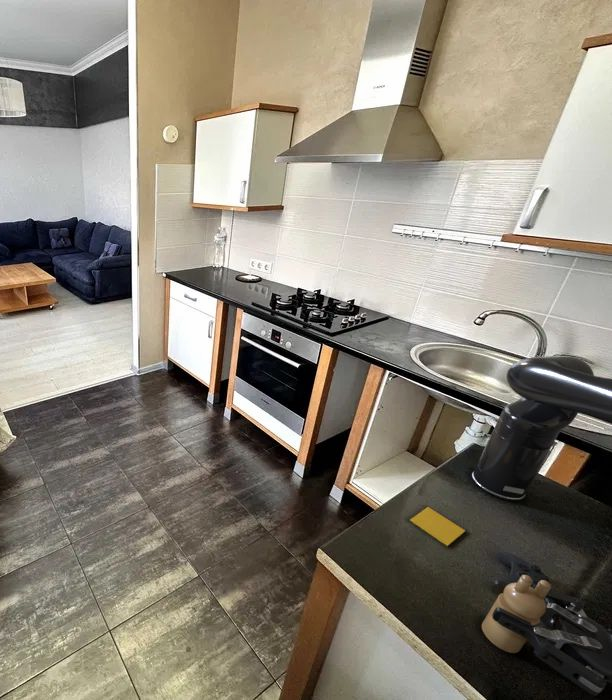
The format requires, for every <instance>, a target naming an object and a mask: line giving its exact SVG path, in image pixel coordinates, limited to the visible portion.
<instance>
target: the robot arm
mask: <svg viewBox="0 0 612 700" xmlns="http://www.w3.org/2000/svg"><path fill="white" fill-rule="evenodd" d="M506 381H507V384H508V386H509V387H510V388H511V390H512V391H513V392H514V393H515V394H517V395H518V396H520V398H519V399H517V400H515V401H512V402H511V403H509V404H507V405H505V406H504V407H503V409H502V411H501V413H500V415H499V417H498V419H497V421H496V423H495V426H494V428H493V430H492V432H491V434H490V437H489V439H488V440H487V442H486V443H485V445H484V448H483V450H482V452H481V455H480V457H479V459H478V461H477V464H476V465H475V467H474V469H473V470H474V471H473V472H472V473H471V476H470V478H471V480H472V482H473V483H474V484H475V485H476V486H477V487H478V488H479V489H480V490H482V491H483V492H485V493H486V494H489V495H491V496H493V497H495V498H498V499H500V500H504V501H508V502H509V501H510V502H520V501H522V500H524V498H525V497H526V495H527V492H528V490H529V489H530V487H531V485H532V483H533V482H534V479H535V477H536V476H537V474H538V472H539V470H540V469H541V468H542V465H543V463H544V461H545V460H546V458H547V456H548V454H549V453H550V451H551V449H552V447H553V444H554V443H555V442H556V440H557V438H558V436H559V435H560V433H561V431H563V430H564V429H565V428H567V427H568V426H569V425H571V424H572V423H573V422H574V420H575V419H576V417H577V416H578V414H581V415H584V416H587V417H590V418H593V419H596V420H598V421H602V422H604V423H607V424H609V425H612V378H610V377H609V378H608V377H601V376H597V375H595V373H594V371H593V369H592V366H590V365H589V363H587V362H586V361H584V360H582V359H580V358H578V357H575V356H569V355H545V356H533V357H532V356H531V357H527V358H524V359H521V360H518V361H516V362H515V363H513V364H512V365H511V366H510V367H509V369H507V371H506ZM507 585H509V584H507V583H505V582H502V581H494V583H493V584H492V585H491V586H490V591H491V593H492V594H494V595H496V596H497V597H498V596H499V595H500V594H502V593H503V592H504V589H505V587H506V586H507ZM535 587H536V586H533V587H532V588H533V589H535ZM545 597H547V598H544V602H545V605H546V611H545V613H544V615H543V616H541V617H540V622H542V623H543V624H544V625H546V626H548V627H549V628H550V629H547V628H544V627H541V626H538V625H537V626H534V627H532V624H531V622H529V621H527V620H525V619H523V618H521V617H519V616H517V615H514V614H512V613H510V612H508V611H506V610H504V609H502V608H500V607H497V608H496V609H495V610H494V612H493V619H494V620H495V621H497V622H498V623H499V624H500V625H502V626H503V627H505V628H507V629H509V630H511V631H513V632H515V633H517V634H519V635H521V636H523V637H525V638H526V639H527V641H526V642H528V643H529V644H531V645H532V647H533V649H534V651H533V654H534V655H535V657H536V658H537V659H539V660H540V661H542V662H543V663H545V664H546V665H548V666H550V667H551V668H552V669H553V670H555V671H556V672H558V673H559V674H561V675H562V676H563V677H565V678H566V679H568V680H570V681H571V682H572V683H574V684H575V685H576V686H578V687H579V688H580V689H582V690H584V691H585V692H586V693H588V694H589V695H591V696H595V697H596V696H598V695H599V693H601V692H602V691H603V690H604V689H605V687H606V686H607V685H608V686H609V687H611V688H612V629H610V628H606V627H605V626H602V625H601V624H599V623H598V622H597V621H595V620H594V619H592V618H590V617H588V616H587V614H586V613H585V611H584V609H583V608H584V607H585V605H586V604H585V602H584V601H583V600H582V599H579V598H578V597H574V596H571V595H569V594H565V593H561V592H559V591H554V590H551V589H550V590H549V592H548V593H547V595H546V596H545ZM555 615H556V616H557V615H558V617H556V620H554V616H555ZM551 629H552V630H551ZM558 660H559V661H558ZM560 661H561V662H560Z"/></svg>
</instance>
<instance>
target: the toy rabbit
mask: <svg viewBox="0 0 612 700" xmlns="http://www.w3.org/2000/svg"><path fill="white" fill-rule="evenodd" d="M532 583H533V580H532V578H531V577H530V576H528V575H522V576H521V577H520V579H519V581H518V582H517V583H511V584H509V585H507V586H506V587H505V589H504V592H503V593H502V594H500V595H499V596H498V595H497V598H496V599H495V602H494V603H493V605H492V607H491V608H490V610H489V611H488V613H487V615H486V616H485V618H484V620H483V621H482V624H481V630H482V632H483V634H484V636H485V637H486V638H487V639H488V640H489V641H490V643H492V644H493V645H494V646H495V647H497V648H498V649H500V650H502V651H504V652H507V653H509V654H516V653H519V652H520V651H521V649H522V648H523V647H524V645H525V644H526V642H528V641H527V639H526V638H525V637H523V636H521V635H519V634H517V633H515V632H513V631H511V630H509V629H507V628H505V627H503V626H502V625H500V624H499V623H498V622H497V621H495V620H494V619H493V612H494V610H495V609H496V608H497V607H500V608H502V609H504V610H506V611H508V612H510V613H512V614H514V615H517V616H519V617H521V618H523V619H525V620H527V621H529V622H531V624H532V627H534V626H537V627H538V625H539V624H540V623H541V618H540V617H541V616H543V615H544V613H545V611H546V605H545V602H544V598H545V596H546V595H547V593H548V592H549V590H551V589H552V585H551V583H550V582H547V581H545V580H541V581H539V583H538V584H537V586H536V587H535V589H533V588H532V587H530V586H531V584H532Z"/></svg>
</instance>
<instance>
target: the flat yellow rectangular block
mask: <svg viewBox="0 0 612 700" xmlns="http://www.w3.org/2000/svg"><path fill="white" fill-rule="evenodd" d="M409 521H410V522H411V523H412V524H414V525H416V526H417V527H418V528H420V529H421V530H422V531H425V532H426V533H427V534H429V535H430V536H432V537H433V538H435V539H436V540H437V541H439V542H440V543H441V544H443V545H445V546H446V547H448V546H450V545H451V544H453V542H455V541H456V540H457V539H458V538H459V537H461V536H462V535H463V534H464V533H465V532H466V529H464V528H463V527H461V526H459V525H457V523H455V522H452V521H451V520H449V519H448V518H446V517H445V516H443V515H441V514H440V513H439V512H437V511H435V510H434V509H432V508H431V507H429V506H427V507H426V508H425V509H423V510H421V511H420V512H419V513H418V514H416V515H414V516H413V517H412V518H410V520H409Z"/></svg>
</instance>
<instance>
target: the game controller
mask: <svg viewBox="0 0 612 700" xmlns="http://www.w3.org/2000/svg"><path fill="white" fill-rule="evenodd" d="M495 557H496V559H497V560H498V561H499V562H501V563H502V564H503V565H505V566H507V567H508V568H510V574H509V575H506V576H502V577H499V578H495V579H492V580H491V581H490V584H491V586H492V584H493V583H494V581H502V582H505V583H507V584H511V583H517V582H518V581H519V579H520V577H521V576H522V575H528V576H530V577H531V578H532V580H533V583H532V584H531V586H530V587H533V586H537V584H538V583H539V581H541V580H545V581H547V582H548V583H550V580H549V578H548V576H547V575H546V574H545V572H543V571H542V569H541V567H540V566H538V565H536V564H532V563H530V562H529V561H526V560H525V559H523V558H521V557H520V556H517V555H516V554H514V553H511V552H508V551H503V550H501V551H498V552H497V553H496V554H495ZM545 598H547V597H545Z"/></svg>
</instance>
